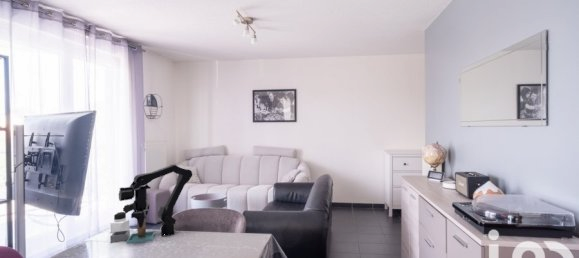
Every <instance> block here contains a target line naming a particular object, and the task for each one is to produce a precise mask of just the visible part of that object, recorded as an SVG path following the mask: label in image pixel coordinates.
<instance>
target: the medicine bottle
mask: <svg viewBox="0 0 579 258" xmlns="http://www.w3.org/2000/svg"><path fill="white" fill-rule="evenodd" d="M126 215H127V213H125V212H124V211H120V212H119V211H118V212H116V213H114V215H113V221H111V222H110V234H113V233H114V232H117V231H126V230H130V219H128V218H127V216H126Z"/></svg>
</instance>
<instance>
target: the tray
mask: <svg viewBox="0 0 579 258" xmlns="http://www.w3.org/2000/svg"><path fill="white" fill-rule="evenodd" d="M155 235H156V231H146V236H145V237H141V238H138V232H137V233H136V232H135V233H130V237H129V238H128V240H127V241H126V245H131V244H139V243H147V242H148V243H149V242H153V240H154V239H155V238H154V237H155Z"/></svg>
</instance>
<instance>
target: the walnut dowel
mask: <svg viewBox="0 0 579 258" xmlns="http://www.w3.org/2000/svg"><path fill="white" fill-rule="evenodd" d="M136 221H137V220H136ZM146 222H147V221H146V220H144V223H143V226H142V227H141V228H140V227H139V224H138V221H137V222H136V223H137V224H136V225H137V233H138V238H141V237H145V236H146V232H147V228H146V224H147V223H146Z"/></svg>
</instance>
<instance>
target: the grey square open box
mask: <svg viewBox="0 0 579 258" xmlns="http://www.w3.org/2000/svg"><path fill="white" fill-rule="evenodd" d="M130 236H131V231H130V229H129V230H126V231H117V232H114V233H111V235H110V244H114V243H115V244H116V243H121V242H127V240H128V239H129V237H130Z"/></svg>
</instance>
